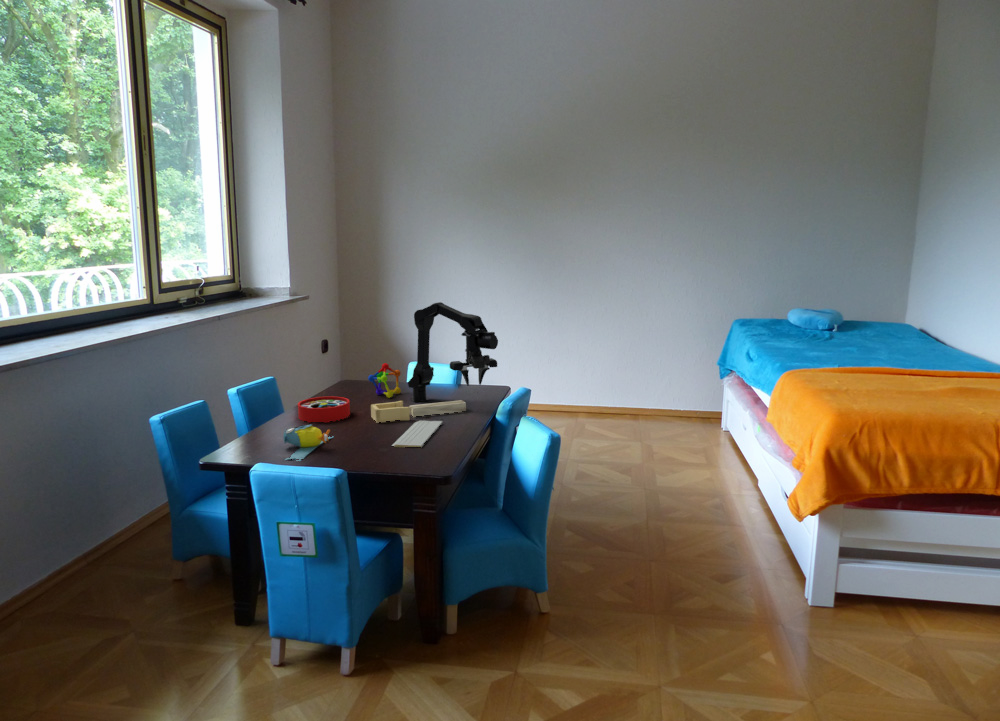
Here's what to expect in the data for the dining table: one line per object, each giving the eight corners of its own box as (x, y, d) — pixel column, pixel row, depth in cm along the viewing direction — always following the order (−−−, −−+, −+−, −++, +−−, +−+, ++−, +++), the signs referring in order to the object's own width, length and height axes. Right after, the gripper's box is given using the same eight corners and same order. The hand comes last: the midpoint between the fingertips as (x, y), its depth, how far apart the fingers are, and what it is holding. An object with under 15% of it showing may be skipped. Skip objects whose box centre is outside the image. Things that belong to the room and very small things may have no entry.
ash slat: (409, 415, 284) (409, 405, 283) (462, 409, 292) (461, 400, 291) (413, 418, 280) (412, 408, 279) (465, 412, 288) (465, 402, 287)
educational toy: (375, 394, 324) (375, 361, 323) (402, 394, 323) (402, 361, 322) (364, 398, 309) (364, 364, 308) (393, 399, 308) (393, 365, 306)
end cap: (370, 416, 282) (369, 403, 281) (402, 412, 287) (402, 400, 286) (377, 423, 271) (376, 411, 270) (410, 420, 275) (410, 407, 274)
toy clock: (311, 395, 294) (357, 397, 290) (312, 409, 295) (358, 411, 291) (288, 407, 274) (337, 409, 271) (289, 422, 276) (337, 424, 272)
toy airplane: (308, 437, 226) (264, 436, 229) (310, 463, 227) (266, 461, 230) (342, 414, 253) (302, 413, 256) (344, 437, 254) (304, 437, 257)
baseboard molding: (387, 448, 242) (421, 450, 240) (386, 440, 242) (421, 441, 240) (412, 423, 272) (442, 425, 270) (412, 416, 272) (442, 417, 270)
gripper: (457, 352, 276) (458, 391, 279) (502, 348, 283) (502, 387, 286) (448, 347, 286) (449, 385, 289) (492, 344, 293) (492, 381, 296)
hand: (473, 385), depth 290 cm, fingers open, 5 cm apart
